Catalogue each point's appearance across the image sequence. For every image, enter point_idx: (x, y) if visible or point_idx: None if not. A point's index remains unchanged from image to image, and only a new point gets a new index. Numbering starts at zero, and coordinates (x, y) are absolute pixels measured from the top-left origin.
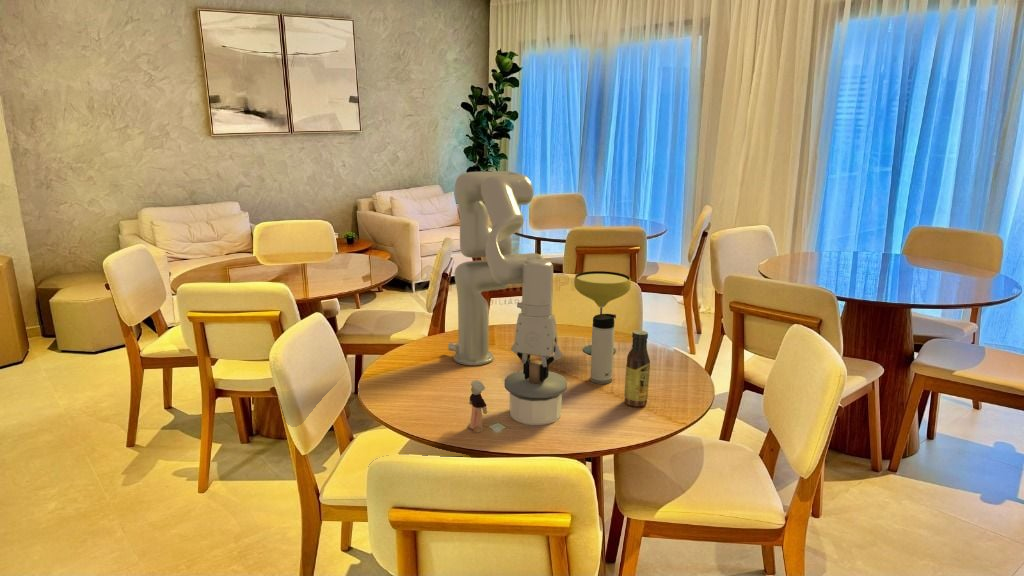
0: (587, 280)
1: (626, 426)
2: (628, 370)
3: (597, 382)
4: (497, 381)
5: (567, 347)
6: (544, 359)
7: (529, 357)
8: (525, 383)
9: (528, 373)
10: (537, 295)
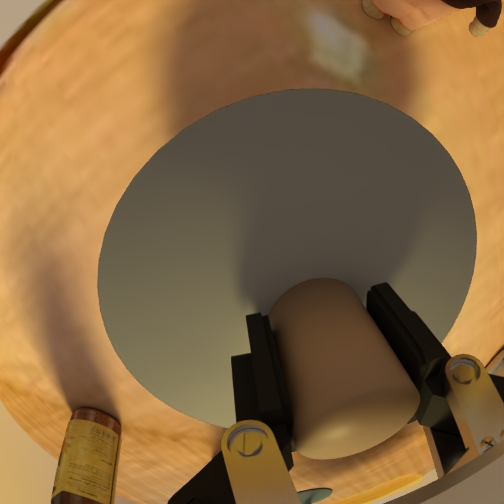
0: None
1: (13, 318)
2: (85, 489)
3: None
4: (456, 335)
5: (358, 481)
6: (258, 496)
7: (432, 435)
8: (358, 250)
9: (380, 326)
10: None
